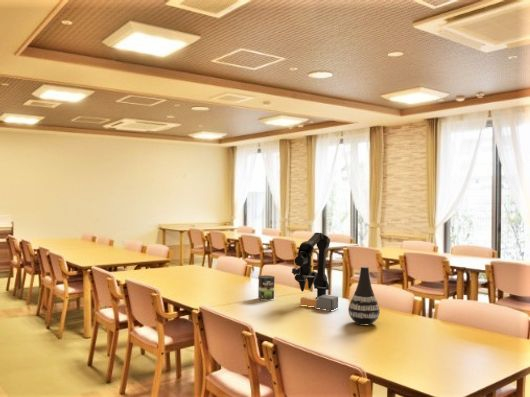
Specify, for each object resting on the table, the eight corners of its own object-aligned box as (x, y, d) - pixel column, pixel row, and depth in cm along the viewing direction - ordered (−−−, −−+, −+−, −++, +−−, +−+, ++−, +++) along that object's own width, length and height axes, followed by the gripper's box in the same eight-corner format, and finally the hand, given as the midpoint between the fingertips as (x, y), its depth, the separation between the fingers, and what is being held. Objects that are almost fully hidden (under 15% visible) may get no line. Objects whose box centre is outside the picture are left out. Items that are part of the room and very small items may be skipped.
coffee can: (276, 300, 302) (276, 277, 302) (260, 301, 300) (260, 278, 299) (271, 296, 312) (272, 275, 312) (256, 297, 310) (256, 275, 309)
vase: (356, 328, 241) (357, 269, 241) (343, 320, 256) (344, 265, 256) (385, 327, 245) (386, 268, 245) (370, 319, 261) (371, 264, 260)
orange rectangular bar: (300, 306, 288) (300, 298, 288) (302, 305, 291) (302, 297, 291) (331, 310, 278) (331, 302, 278) (333, 309, 281) (334, 301, 281)
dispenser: (316, 309, 281) (316, 296, 281) (322, 306, 287) (322, 294, 287) (332, 311, 275) (332, 298, 275) (337, 308, 282) (338, 296, 282)
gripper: (301, 260, 301) (301, 286, 301) (286, 264, 285) (286, 291, 285) (317, 262, 295) (317, 288, 295) (303, 266, 279) (303, 293, 279)
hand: (305, 290), depth 289 cm, fingers open, 9 cm apart
